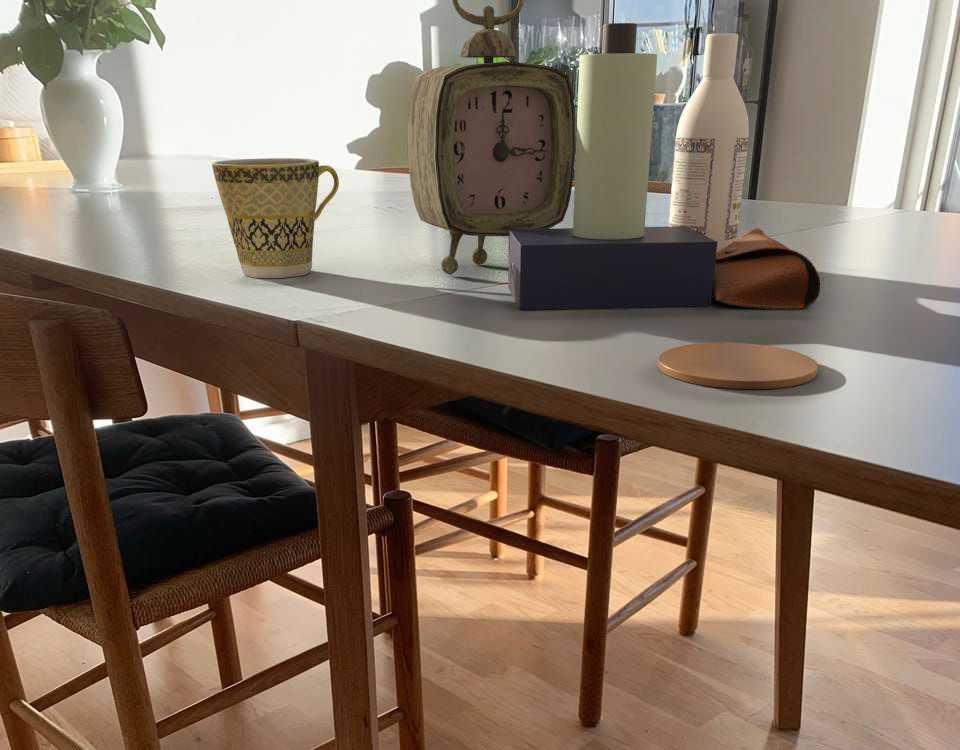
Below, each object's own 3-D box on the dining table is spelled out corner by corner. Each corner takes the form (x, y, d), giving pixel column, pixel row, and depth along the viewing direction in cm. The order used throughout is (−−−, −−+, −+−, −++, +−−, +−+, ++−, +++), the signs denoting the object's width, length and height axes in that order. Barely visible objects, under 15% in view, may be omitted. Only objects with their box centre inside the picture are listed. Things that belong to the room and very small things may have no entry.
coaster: (784, 348, 66) (786, 340, 65) (842, 387, 57) (843, 378, 57) (643, 351, 65) (643, 344, 65) (679, 391, 57) (680, 383, 56)
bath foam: (718, 256, 101) (743, 35, 91) (744, 267, 95) (773, 32, 85) (656, 259, 100) (674, 36, 90) (678, 269, 94) (700, 32, 84)
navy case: (681, 284, 87) (687, 226, 85) (712, 306, 79) (719, 241, 76) (507, 288, 86) (507, 229, 84) (518, 310, 78) (519, 245, 75)
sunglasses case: (678, 266, 92) (720, 202, 89) (735, 304, 94) (778, 242, 91) (716, 303, 77) (768, 226, 74) (783, 347, 79) (837, 274, 76)
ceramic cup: (259, 285, 89) (244, 166, 84) (208, 272, 95) (192, 161, 90) (372, 269, 96) (365, 159, 91) (318, 258, 102) (309, 155, 97)
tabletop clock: (438, 279, 90) (429, -40, 78) (405, 266, 98) (392, -29, 85) (571, 268, 96) (582, -34, 83) (530, 256, 103) (535, -23, 90)
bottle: (635, 229, 83) (649, 26, 75) (651, 239, 78) (668, 21, 70) (567, 231, 82) (575, 26, 75) (578, 240, 77) (587, 21, 70)
